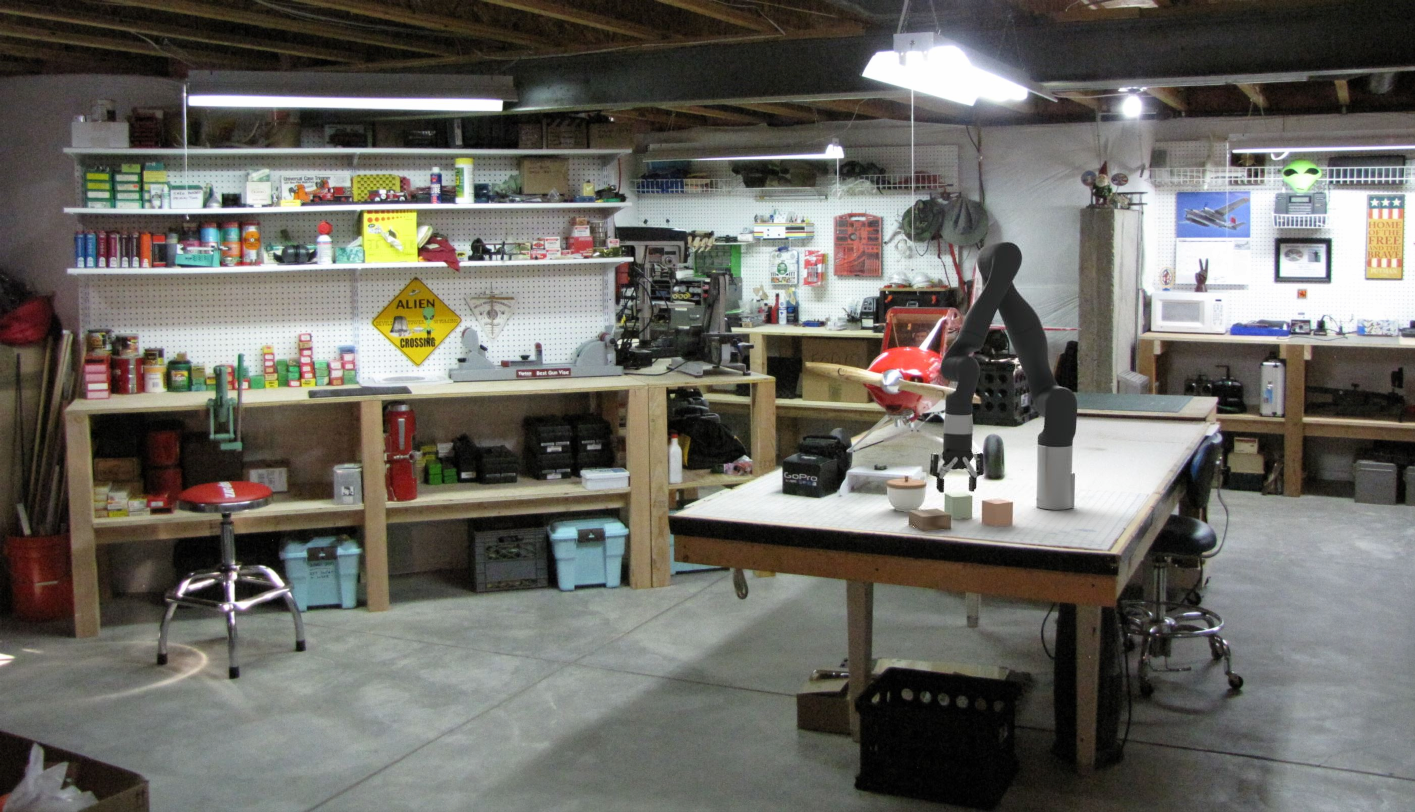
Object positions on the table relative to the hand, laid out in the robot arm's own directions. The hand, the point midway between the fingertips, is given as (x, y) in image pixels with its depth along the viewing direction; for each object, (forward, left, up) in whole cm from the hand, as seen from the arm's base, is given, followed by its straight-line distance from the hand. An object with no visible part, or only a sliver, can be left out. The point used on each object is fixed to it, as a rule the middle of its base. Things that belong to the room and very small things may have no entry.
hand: (956, 491), depth 325 cm
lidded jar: (+10, -12, -7) cm, 17 cm away
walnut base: (+12, +10, -7) cm, 17 cm away
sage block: (0, 0, -7) cm, 7 cm away
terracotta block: (-6, +11, -7) cm, 15 cm away
